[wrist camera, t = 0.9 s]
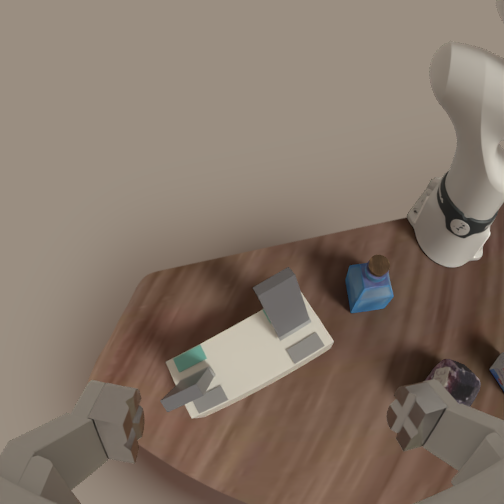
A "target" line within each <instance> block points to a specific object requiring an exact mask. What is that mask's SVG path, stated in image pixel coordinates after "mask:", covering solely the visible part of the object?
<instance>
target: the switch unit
mask: <svg viewBox="0 0 504 504" xmlns="http://www.w3.org/2000/svg"><path fill="white" fill-rule="evenodd" d="M301 294H302V293H301ZM302 297H303V300H304V303H305V306H306V309H307V313H308V316H309V318H310V319H311V323H309V324H308V325H306V326H304V327H303V328H301V329H299V330H298V331H296V332H295V333H293V334H291V335H289V336H288V337H286V338H284V339H283V340H281V341H280V340H279V338H278V336H277V335H276V333H275V331H274V328H273V326H272V324H271V322H270V320H269V318H268V316H267V314H266V312H265V311H264V309H263V310H261V311H259V312H257V313H256V314H254V315H252V316H250V317H248V318H247V319H245V320H243V321H241V322H240V323H238V324H236V325H234V326H232V327H231V328H229V329H227V330H225V331H223V332H221V333H220V334H218V335H216V336H214V337H212V338H210V339H208V340H207V341H205V342H203V343H201V344H199V345H197V346H195V347H193V348H192V349H190V350H188V351H186V352H184V353H182V354H180V355H178V356H176V357H174V358H172V359H170V360H168V361H166V364H167V367H168V369H169V371H170V373H171V376H172V378H173V380H174V382H175V385H177V384H178V383H179V381H180V380H182V379H184V378H186V377H188V376H190V375H192V374H194V373H196V372H198V371H200V370H202V369H204V368H206V367H208V366H211V368H212V369H213V371H214V373H215V377H214V378H213V379H212V381H211V383H210V385H209V387H208V389H207V390H206V392H205V394H204V396H202V397H200V398H198V399H196V400H193V401H191V402H189V403H187V404H185V406H186V408H187V410H188V412H189V414H190V416H191V418H200V417H205V416H208V415H210V414H212V413H214V412H216V411H218V410H220V409H223V408H225V407H227V406H229V405H231V404H233V403H235V402H237V401H239V400H241V399H243V398H245V397H247V396H249V395H251V394H253V393H255V392H256V391H258V390H260V389H262V388H264V387H266V386H268V385H269V384H271V383H273V382H275V381H277V380H278V379H280V378H282V377H284V376H286V375H287V374H289V373H291V372H293V371H294V370H296V369H298V368H299V367H301V366H303V365H304V364H306V363H308V362H309V361H311V360H313V359H314V358H316V357H318V356H319V355H321V354H322V353H324V352H325V351H327V350H329V349H330V348H331V346H332V344H333V342H334V341H333V339H332V338H331V336H330V335H329V333H328V332H327V330H326V329H325V327H324V326H323V324H322V323H321V321H320V320H319V318H318V317H317V315H316V314H315V312H314V311H313V309H312V308H311V306H310V305H309V303H308V302H307V300H306V299H305V297H304V296H303V294H302Z"/></svg>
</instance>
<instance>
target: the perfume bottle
mask: <svg viewBox="0 0 504 504" xmlns="http://www.w3.org/2000/svg"><path fill="white" fill-rule="evenodd" d="M389 268H390V263H389V261H388V259H387V258H386V257H384V256H382V255H374V256H373V257H371V259H370V260H369V261H368V263H364V264H356V265H350V266H349V269H348V273H347V276H346V280H345V281H346V287H347V293H348V299H349V306H350V312H351V313H357V312H364V311H370V310H377V309H383V308H385V307H386V306H387V304H388V303H389V302H390V300H391V299H392V298H393V292H392V287H391V282H390V278H389V274H388V271H389Z"/></svg>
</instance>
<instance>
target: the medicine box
mask: <svg viewBox="0 0 504 504" xmlns="http://www.w3.org/2000/svg"><path fill="white" fill-rule="evenodd" d="M490 371H491V373H492V374H493V376H494V377H495V379H496V380H497V382H498V383H499V385H500V386H501V388H502V390H503V391H504V353H501V354H500V355H499V357H498V358H497V359H496V361H495V362H494V364H493V365H492V366H491V368H490Z"/></svg>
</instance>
